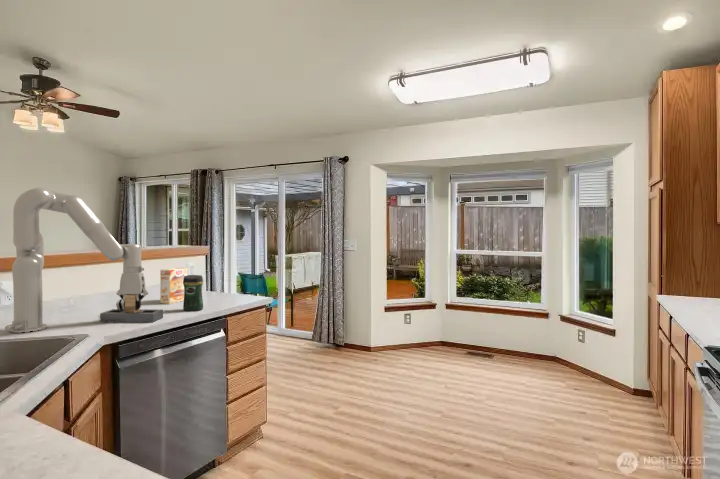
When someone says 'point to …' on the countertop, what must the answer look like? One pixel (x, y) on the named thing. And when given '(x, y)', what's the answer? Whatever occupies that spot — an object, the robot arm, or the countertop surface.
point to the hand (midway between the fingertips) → (132, 308)
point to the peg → (130, 304)
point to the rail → (131, 315)
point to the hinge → (121, 304)
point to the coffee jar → (193, 293)
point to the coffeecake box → (172, 285)
